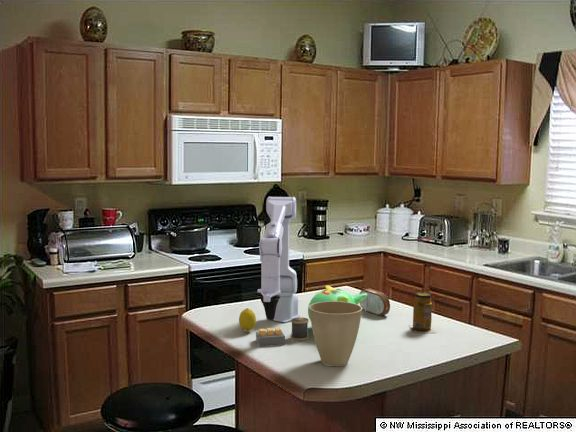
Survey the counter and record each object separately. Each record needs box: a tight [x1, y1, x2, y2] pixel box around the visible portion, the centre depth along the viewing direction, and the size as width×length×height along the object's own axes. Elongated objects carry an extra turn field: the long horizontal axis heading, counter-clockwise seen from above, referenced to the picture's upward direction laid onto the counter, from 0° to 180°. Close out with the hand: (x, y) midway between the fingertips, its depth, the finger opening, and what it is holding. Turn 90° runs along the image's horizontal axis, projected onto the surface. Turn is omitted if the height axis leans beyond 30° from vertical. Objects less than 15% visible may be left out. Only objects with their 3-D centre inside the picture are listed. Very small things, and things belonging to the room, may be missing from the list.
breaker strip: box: [255, 327, 286, 347], centre depth 192 cm, size 8×6×4 cm
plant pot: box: [308, 301, 363, 367], centre depth 174 cm, size 15×15×16 cm
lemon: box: [238, 307, 257, 333], centre depth 202 cm, size 6×6×8 cm
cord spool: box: [290, 316, 310, 342], centre depth 196 cm, size 6×6×6 cm
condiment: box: [408, 292, 437, 334], centre depth 206 cm, size 7×8×12 cm
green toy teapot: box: [307, 285, 367, 322], centre depth 204 cm, size 18×17×15 cm
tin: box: [359, 288, 391, 317], centre depth 227 cm, size 15×3×8 cm, turn 33°
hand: (270, 319), depth 191 cm, fingers closed
